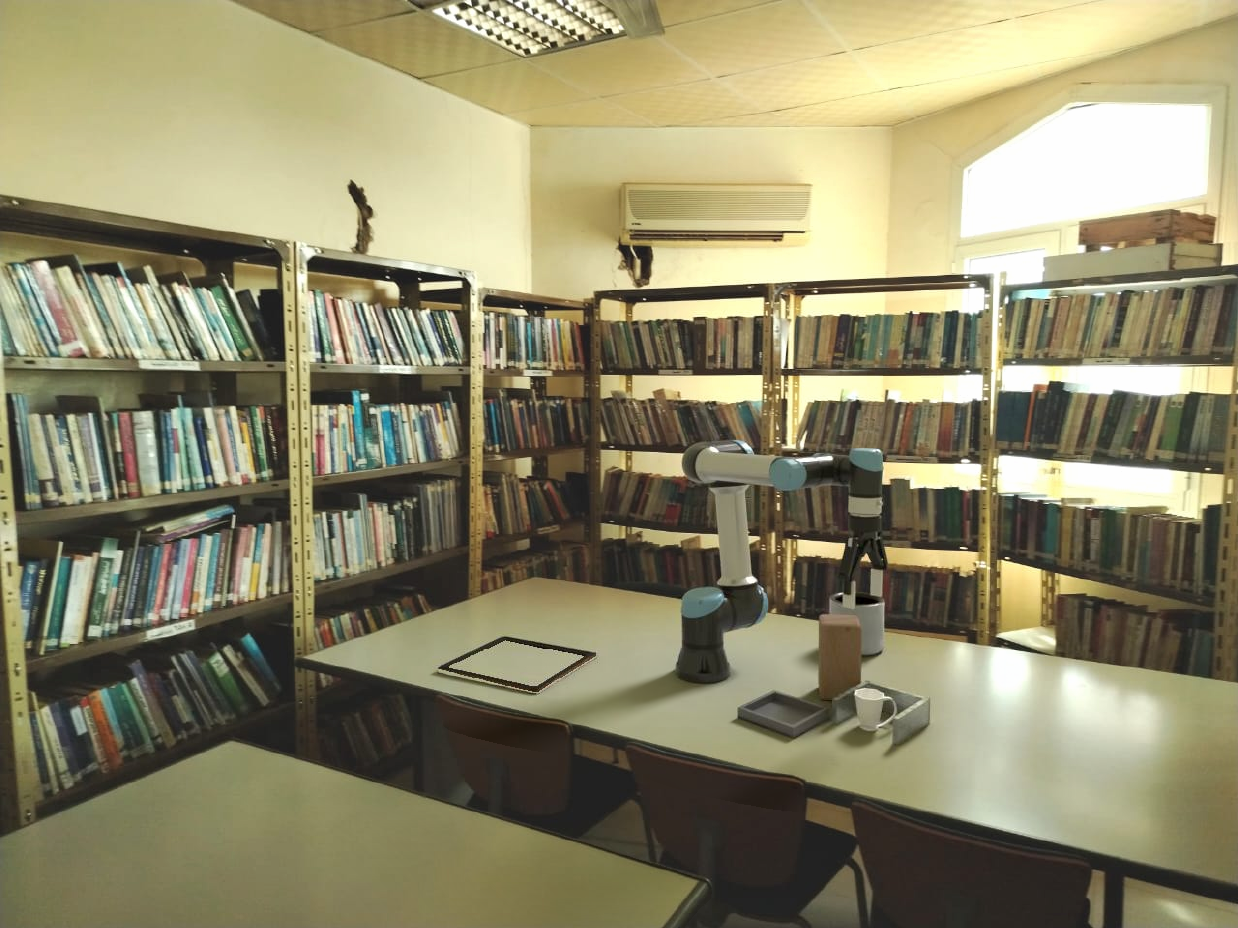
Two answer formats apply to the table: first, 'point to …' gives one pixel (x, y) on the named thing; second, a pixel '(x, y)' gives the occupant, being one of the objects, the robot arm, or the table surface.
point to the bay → (888, 709)
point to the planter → (864, 618)
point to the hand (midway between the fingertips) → (862, 601)
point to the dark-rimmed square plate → (586, 654)
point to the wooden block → (839, 654)
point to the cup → (871, 708)
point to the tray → (783, 713)
